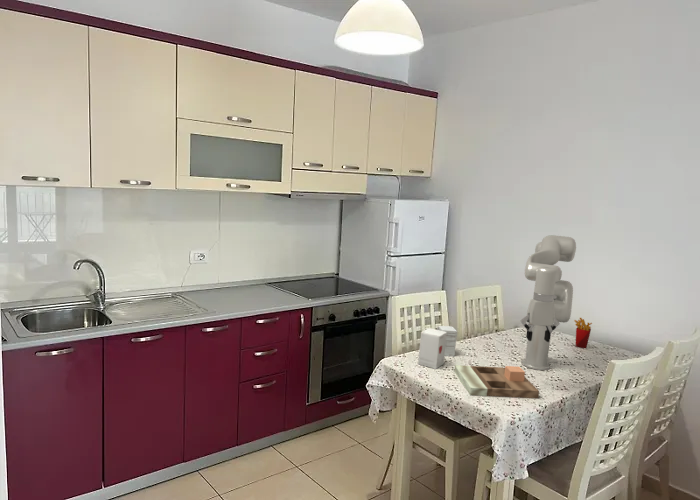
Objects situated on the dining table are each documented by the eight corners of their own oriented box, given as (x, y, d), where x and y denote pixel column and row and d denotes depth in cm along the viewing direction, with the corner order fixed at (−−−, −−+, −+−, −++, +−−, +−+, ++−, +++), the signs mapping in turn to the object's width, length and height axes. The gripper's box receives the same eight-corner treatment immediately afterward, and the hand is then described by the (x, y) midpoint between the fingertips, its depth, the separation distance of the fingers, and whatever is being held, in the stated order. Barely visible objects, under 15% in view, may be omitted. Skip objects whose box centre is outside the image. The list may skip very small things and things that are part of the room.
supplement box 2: (435, 350, 249) (437, 325, 247) (450, 351, 250) (453, 326, 248) (439, 356, 242) (441, 330, 240) (454, 356, 243) (457, 330, 241)
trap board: (515, 374, 225) (516, 368, 224) (538, 398, 201) (539, 391, 201) (454, 371, 223) (454, 365, 223) (470, 395, 199) (470, 387, 199)
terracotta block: (518, 375, 215) (519, 366, 215) (523, 381, 209) (525, 372, 209) (504, 375, 215) (505, 366, 214) (509, 380, 209) (510, 371, 209)
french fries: (589, 346, 274) (593, 319, 272) (586, 350, 267) (590, 322, 265) (571, 342, 278) (575, 315, 276) (568, 346, 272) (572, 318, 269)
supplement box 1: (436, 369, 224) (439, 336, 222) (417, 364, 229) (420, 331, 227) (444, 363, 232) (447, 331, 230) (425, 359, 237) (428, 327, 235)
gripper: (559, 296, 212) (554, 338, 215) (518, 294, 211) (513, 336, 214) (568, 301, 205) (562, 344, 207) (525, 298, 204) (520, 342, 206)
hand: (537, 340), depth 210 cm, fingers open, 6 cm apart
